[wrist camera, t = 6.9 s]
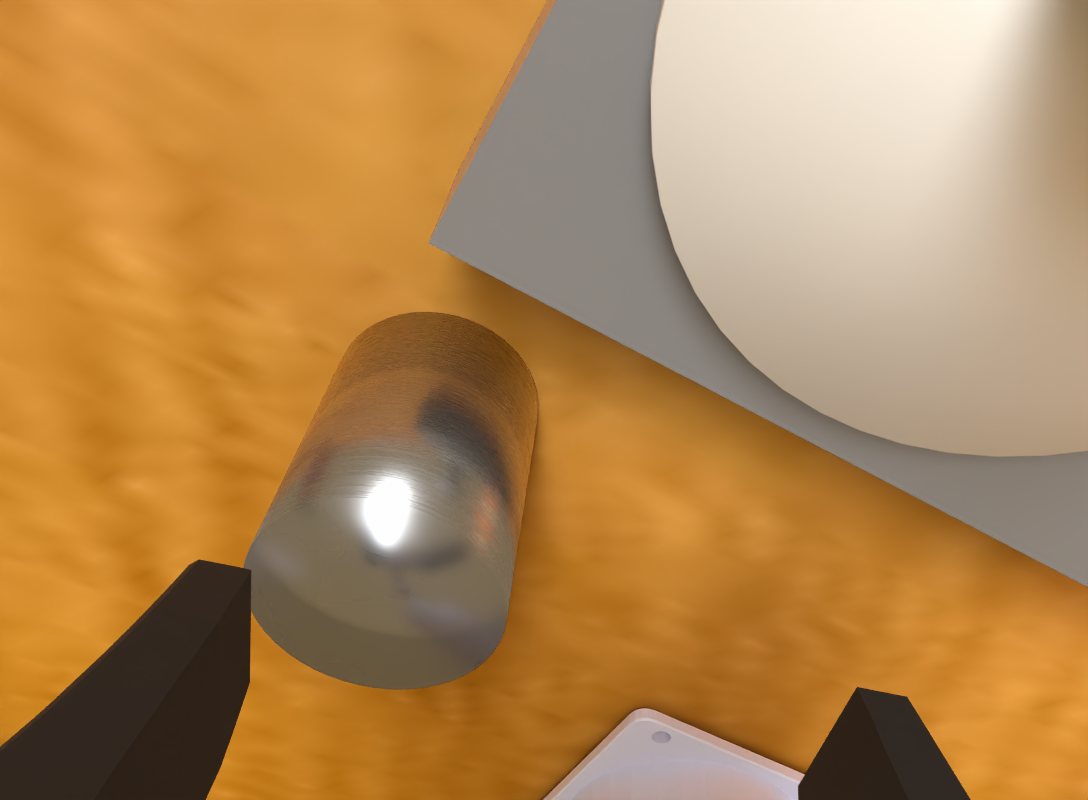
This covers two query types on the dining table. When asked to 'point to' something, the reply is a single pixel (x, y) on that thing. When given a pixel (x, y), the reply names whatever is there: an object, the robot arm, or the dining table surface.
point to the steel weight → (402, 508)
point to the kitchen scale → (821, 226)
